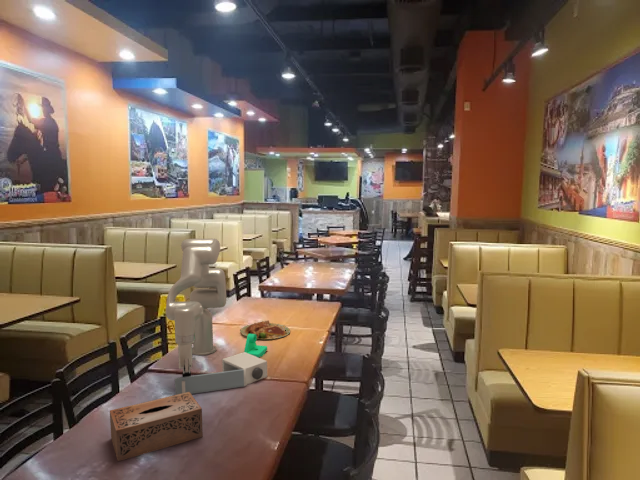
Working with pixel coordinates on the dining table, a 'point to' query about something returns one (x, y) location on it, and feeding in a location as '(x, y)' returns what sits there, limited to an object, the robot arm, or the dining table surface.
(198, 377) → the side door
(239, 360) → the block
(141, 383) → the dining table surface
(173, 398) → the tissue box cover
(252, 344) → the camera mount
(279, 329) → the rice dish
